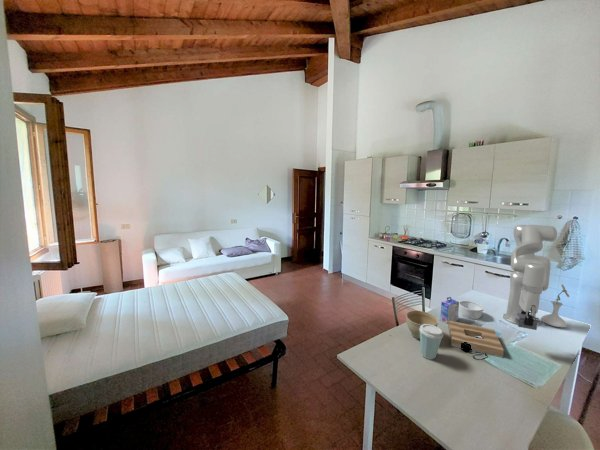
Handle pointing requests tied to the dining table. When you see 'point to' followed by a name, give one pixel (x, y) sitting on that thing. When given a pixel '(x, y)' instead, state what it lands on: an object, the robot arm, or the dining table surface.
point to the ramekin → (470, 309)
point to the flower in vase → (555, 313)
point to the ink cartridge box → (449, 310)
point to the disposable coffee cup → (430, 340)
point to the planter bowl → (419, 321)
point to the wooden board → (484, 345)
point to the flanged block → (521, 318)
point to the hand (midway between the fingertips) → (526, 322)
